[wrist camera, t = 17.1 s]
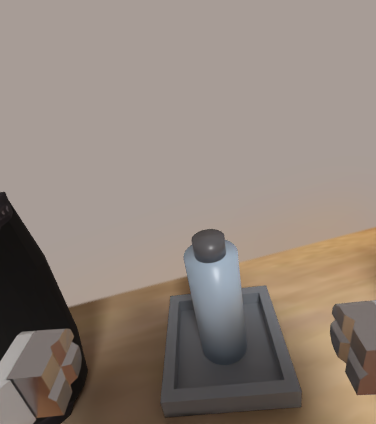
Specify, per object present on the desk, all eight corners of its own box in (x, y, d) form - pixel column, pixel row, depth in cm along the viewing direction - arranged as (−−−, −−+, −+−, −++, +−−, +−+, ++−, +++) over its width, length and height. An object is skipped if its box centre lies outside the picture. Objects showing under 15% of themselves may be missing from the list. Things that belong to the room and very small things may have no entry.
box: (165, 417, 24) (160, 402, 23) (173, 308, 35) (170, 296, 34) (301, 406, 23) (301, 391, 22) (266, 298, 34) (266, 285, 33)
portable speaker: (20, 361, 31) (-82, 196, 23) (105, 346, 31) (36, 175, 23) (-27, 455, 24) (-206, 259, 15) (86, 435, 24) (-30, 228, 15)
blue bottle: (204, 368, 27) (180, 258, 21) (200, 329, 31) (179, 228, 25) (251, 361, 27) (240, 249, 21) (241, 323, 31) (230, 220, 25)
